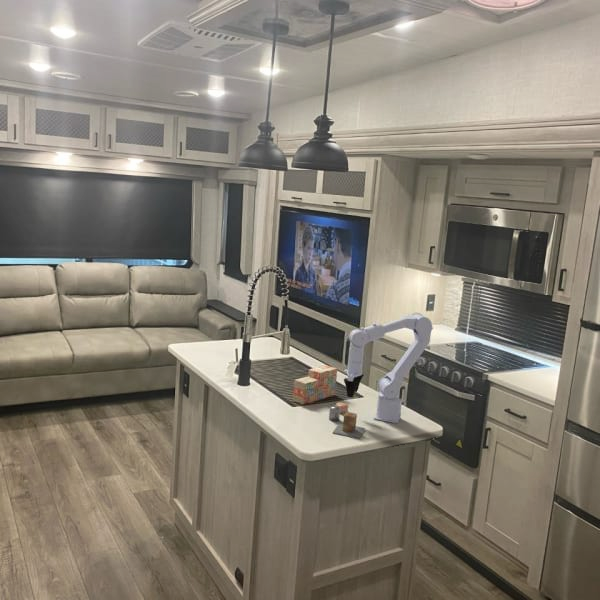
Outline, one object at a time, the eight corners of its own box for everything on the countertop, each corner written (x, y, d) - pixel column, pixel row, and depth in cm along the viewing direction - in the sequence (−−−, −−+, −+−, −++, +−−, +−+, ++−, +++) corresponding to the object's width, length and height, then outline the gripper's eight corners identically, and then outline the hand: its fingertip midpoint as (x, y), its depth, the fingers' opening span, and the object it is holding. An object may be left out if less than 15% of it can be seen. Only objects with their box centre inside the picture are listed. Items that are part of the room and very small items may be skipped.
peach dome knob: (348, 410, 244) (349, 403, 243) (346, 414, 239) (346, 407, 239) (337, 408, 245) (337, 401, 245) (334, 412, 241) (334, 405, 240)
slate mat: (365, 429, 225) (365, 428, 225) (359, 438, 216) (359, 437, 215) (339, 424, 228) (339, 423, 228) (332, 433, 218) (332, 432, 218)
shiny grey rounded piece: (340, 418, 234) (341, 406, 233) (337, 422, 230) (339, 409, 229) (330, 417, 235) (331, 404, 234) (327, 420, 231) (328, 408, 230)
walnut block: (355, 429, 223) (356, 413, 222) (353, 432, 219) (354, 417, 218) (344, 427, 224) (346, 411, 223) (342, 430, 220) (343, 415, 219)
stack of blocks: (303, 405, 246) (306, 376, 244) (292, 401, 250) (294, 372, 248) (335, 395, 262) (337, 368, 260) (323, 391, 266) (326, 364, 264)
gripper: (349, 354, 241) (346, 387, 243) (341, 363, 227) (338, 397, 229) (366, 357, 239) (363, 390, 241) (359, 366, 225) (356, 400, 227)
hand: (352, 394), depth 235 cm, fingers open, 7 cm apart
